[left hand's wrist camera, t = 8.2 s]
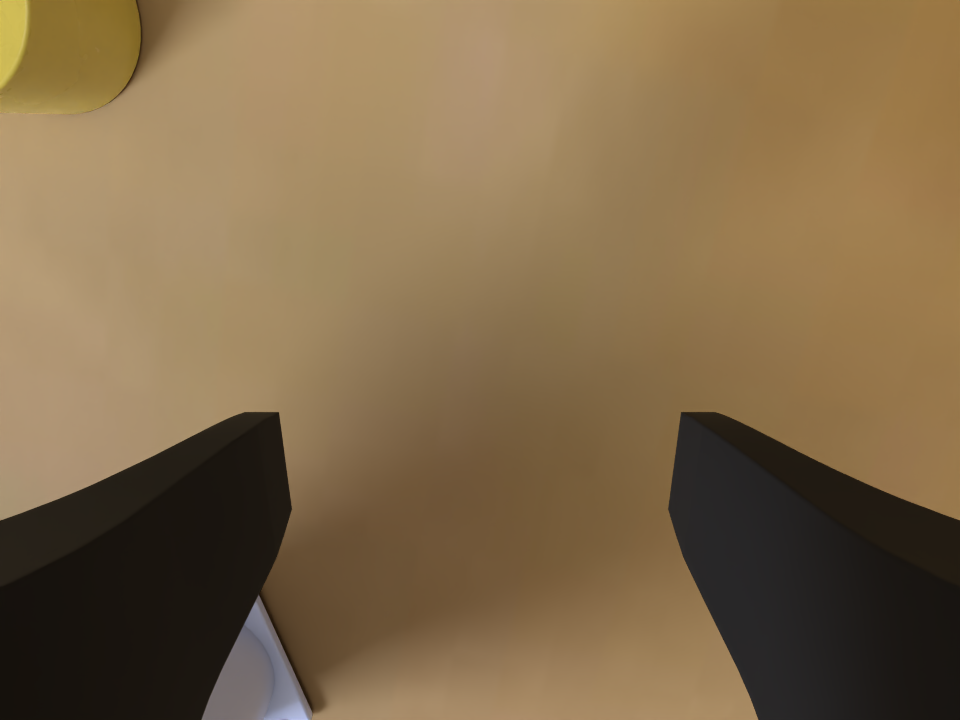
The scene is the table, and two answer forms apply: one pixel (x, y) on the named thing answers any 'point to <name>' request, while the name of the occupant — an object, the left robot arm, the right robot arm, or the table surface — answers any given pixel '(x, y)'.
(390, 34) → the table surface
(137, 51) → the tin
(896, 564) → the left robot arm
